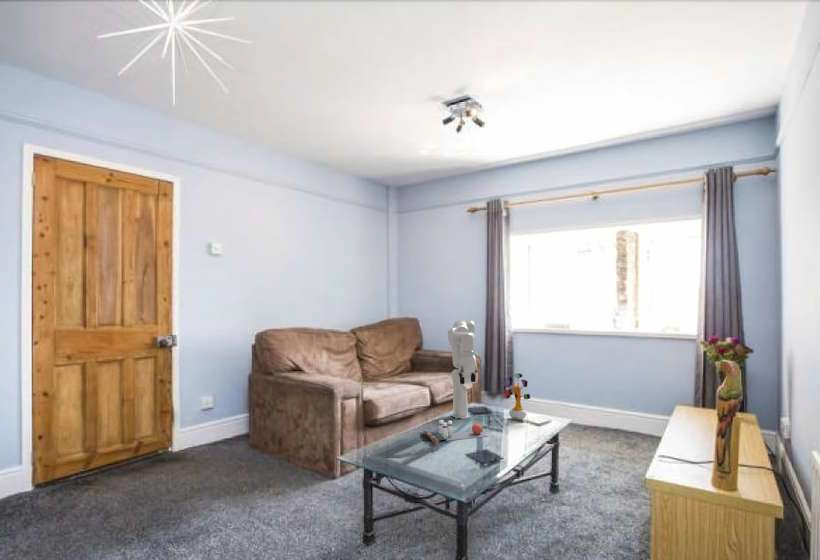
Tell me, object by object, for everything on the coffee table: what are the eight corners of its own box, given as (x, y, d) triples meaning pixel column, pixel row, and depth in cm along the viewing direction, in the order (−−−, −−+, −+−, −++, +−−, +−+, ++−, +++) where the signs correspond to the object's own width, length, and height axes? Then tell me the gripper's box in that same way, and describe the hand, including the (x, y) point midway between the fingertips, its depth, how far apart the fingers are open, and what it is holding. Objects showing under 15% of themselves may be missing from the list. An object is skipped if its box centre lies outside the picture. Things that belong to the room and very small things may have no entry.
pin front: (447, 436, 252) (447, 420, 252) (451, 436, 252) (451, 420, 253) (448, 438, 249) (448, 422, 250) (452, 437, 250) (452, 421, 250)
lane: (431, 435, 253) (431, 435, 253) (479, 430, 262) (479, 430, 262) (438, 441, 243) (438, 441, 243) (487, 436, 252) (487, 436, 252)
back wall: (424, 434, 257) (424, 429, 257) (426, 433, 257) (426, 429, 257) (435, 445, 238) (435, 440, 238) (438, 444, 238) (438, 440, 238)
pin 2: (441, 438, 248) (441, 422, 248) (445, 438, 249) (445, 422, 249) (443, 440, 246) (443, 423, 246) (447, 439, 246) (447, 423, 247)
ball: (470, 433, 258) (470, 422, 258) (479, 432, 259) (479, 422, 260) (474, 436, 252) (474, 425, 252) (484, 435, 254) (483, 424, 254)
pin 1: (438, 436, 253) (438, 420, 253) (442, 435, 254) (442, 420, 254) (440, 437, 250) (440, 421, 251) (444, 437, 251) (444, 421, 251)
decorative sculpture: (500, 417, 291) (500, 371, 293) (508, 415, 296) (508, 370, 297) (525, 424, 275) (524, 376, 277) (533, 421, 280) (532, 374, 281)
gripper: (472, 352, 271) (472, 380, 270) (452, 354, 260) (453, 383, 258) (481, 353, 265) (482, 381, 264) (462, 355, 254) (462, 385, 253)
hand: (467, 382), depth 261 cm, fingers open, 9 cm apart
